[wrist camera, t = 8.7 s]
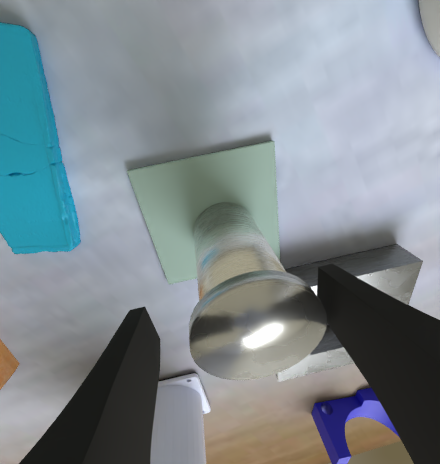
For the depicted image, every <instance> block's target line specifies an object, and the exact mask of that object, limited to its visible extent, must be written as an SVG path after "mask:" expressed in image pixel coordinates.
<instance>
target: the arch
mask: <svg viewBox="0 0 440 464" xmlns="http://www.w3.org/2000/svg"><path fill="white" fill-rule="evenodd" d="M18 365H19V362H18V361H17V360H16V358H15V357H14V356H13V355H12V353H11V352H10V351H9V350H8V348H7V347H6V346H5V344H4V343H3V342H2V341H1V339H0V390H1V388H2V387H3V386H4V384H5V383H6V382H7V381H8V379H9V378H10V377H11V376H12V374H13V373H14V372H15V370H16V369H17V367H18Z"/></svg>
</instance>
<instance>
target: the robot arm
mask: <svg viewBox="0 0 440 464" xmlns="http://www.w3.org/2000/svg"><path fill="white" fill-rule="evenodd" d="M317 297H318V299H319V300H320V301H321V303H322V304H323V306H324V308H325V311H326V314H327V323H328V325H329V326H330V328H331V329H332V331H333V332H334V334H335V335H336V337H337V338H338V340H339V341H340V343H341V344H342V346H343V347H344V348H345V350H346V351H347V353H348V354H349V356H350V357H351V359H352V360H353V361H354V363H355V364H356V366H357V367H358V369H359V370H360V372H361V373H362V374H363V376H364V377H365V379H366V380H367V382H368V383H369V385H370V387H371V388H372V390H373V391H374V393H375V395H376V396H377V398H378V400H379V402H380V403H381V405H382V407H383V408H384V410H385V412H386V414H387V415H388V417H389V419H390V421H391V422H392V424H393V426H394V428H395V430H396V431H397V433H398V435H399V437H400V439H401V440H402V442H403V444H404V446H405V448H406V450H407V451H408V453H409V455H410V457H411V459H412V461H413V463H414V464H440V320H438V319H436V318H434V317H432V316H430V315H427V314H425V313H423V312H421V311H419V310H417V309H415V308H413V307H411V306H409V305H407V304H405V303H403V302H401V301H399V300H397V299H395V298H393V297H392V296H390V295H388V294H386V293H384V292H382V291H380V290H379V289H377V288H375V287H373V286H371V285H370V284H368V283H366V282H364V281H362V280H361V279H359V278H357V277H355V276H354V275H352V274H350V273H348V272H347V271H345V270H343V269H341V268H340V267H338V266H336V265H334V264H329V265H325V266H320V267H318V283H317ZM159 371H160V338H159V336H158V334H157V331H156V329H155V327H154V325H153V323H152V321H151V319H150V316H149V314H148V312H147V310H146V308H145V307H142V308H137V309H133V310H130V311H129V312H128V314H127V315H126V317H125V319H124V320H123V322H122V323H121V325H120V327H119V328H118V330H117V331H116V333H115V335H114V336H113V338H112V339H111V341H110V343H109V344H108V346H107V347H106V349H105V350H104V352H103V354H102V355H101V357H100V358H99V360H98V361H97V363H96V364H95V366H94V367H93V369H92V370H91V372H90V373H89V375H88V376H87V377H86V379H85V380H84V382H83V383H82V385H81V386H80V387H79V389H78V390H77V392H76V393H75V395H74V396H73V397H72V399H71V400H70V401H69V403H68V404H67V405H66V407H65V408H64V409H63V411H62V412H61V413H60V415H59V416H58V417H57V419H56V420H55V421H54V422H53V424H52V425H51V426H50V427H49V429H48V430H47V431H46V432H45V434H44V435H43V436H42V437H41V439H40V440H39V441H38V442H37V443H36V445H35V446H34V447H33V448H32V449H31V450H30V452H29V453H28V454H27V455H26V456H25V457H24V459H23V460H22V461H21V462H20V463H19V464H206V454H205V438H204V423H203V414H205V413H208V412H210V411H211V409H210V405H209V402H208V400H207V397H206V395H205V392H204V389H203V387H202V384H201V382H200V379H199V377H198V375H197V374H196V373H193V374H188V375H184V376H180V377H176V378H172V379H168V380H163V381H159V382H158V380H159Z"/></svg>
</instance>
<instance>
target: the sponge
mask: <svg viewBox="0 0 440 464" xmlns="http://www.w3.org/2000/svg"><path fill="white" fill-rule="evenodd" d="M58 146H59V140H58V135H57V128H56V125H55V119H54V113H53V110H52V106H51V101H50V97H49V92H48V89H47V82H46V78H45V75H44V70H43V65H42V60H41V56H40V51H39V47H38V43H37V39H36V37H35V35H34V34H32V32H30V31H29V30H28V29H27V28H24V27H23V26H20V25H13V24H8V23H7V24H6V23H1V22H0V233H1V234H2V236H3V237H4V239H5V240H6V241H7V243H8V246H10V247H11V248H12V252H13V253H14V254H20V253H22V254H29V253H38V252H42V251H49V252H58V251H67V252H68V251H71V250H72V249H74V248H75V247H77V246H78V245H79V243H80V242H81V240H80V232H79V231H80V230H79V225H78V218H77V214H76V210H75V205H74V201H73V197H72V193H71V191H70V186H69V183H68V179H67V176H66V171H65V167H64V165H63V163H62V156H61V150H60V147H58Z"/></svg>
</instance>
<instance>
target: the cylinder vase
mask: <svg viewBox="0 0 440 464" xmlns="http://www.w3.org/2000/svg"><path fill="white" fill-rule="evenodd" d="M419 8H420V15H421V20H422V24H423V27H424V31H425V33H426V36H427V38H428V41H429V43H430V44H431V46H432V48H433V49H434V51H435V52H436V54H437V55H438V56H439V57H440V0H419Z"/></svg>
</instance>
